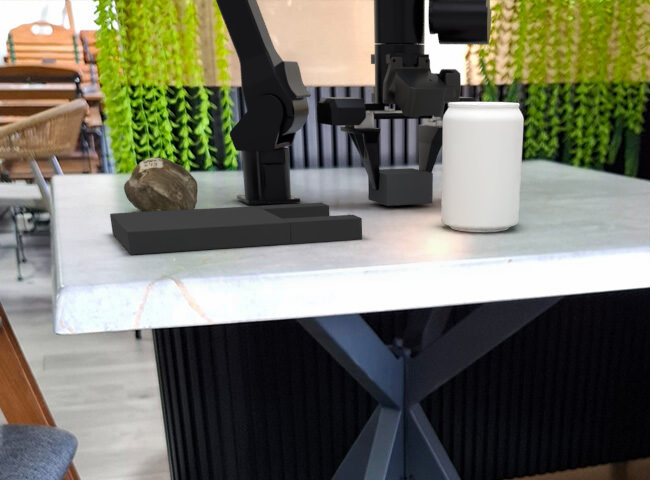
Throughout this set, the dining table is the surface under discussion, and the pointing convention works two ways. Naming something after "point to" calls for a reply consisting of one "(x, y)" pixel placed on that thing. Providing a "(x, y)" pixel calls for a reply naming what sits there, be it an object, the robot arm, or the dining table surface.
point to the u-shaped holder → (231, 227)
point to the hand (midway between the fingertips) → (399, 188)
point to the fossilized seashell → (161, 186)
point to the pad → (403, 187)
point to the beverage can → (481, 165)
